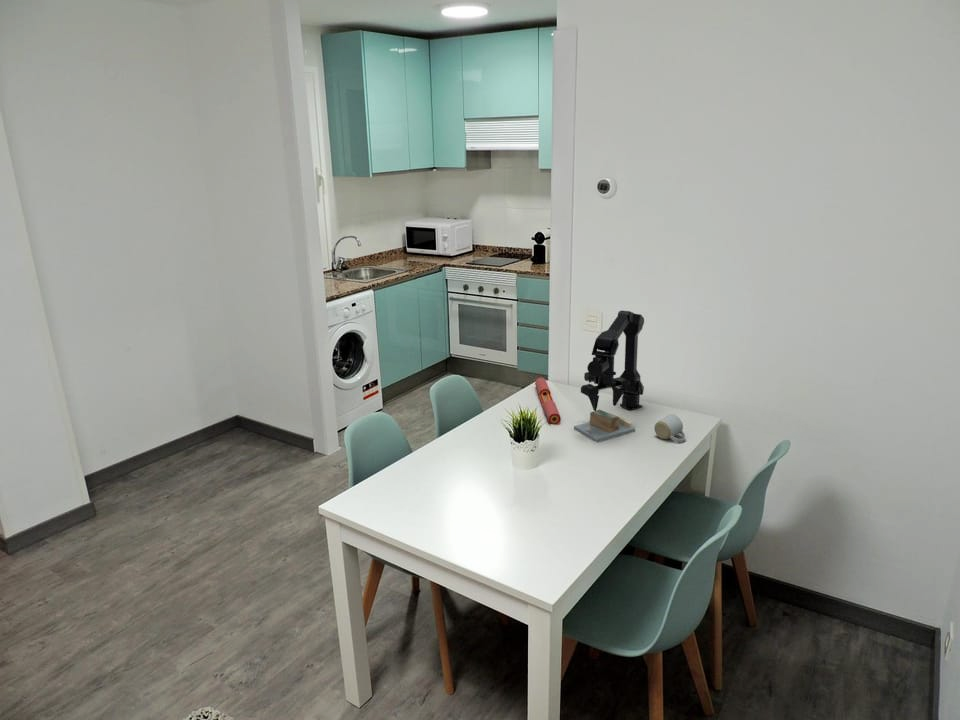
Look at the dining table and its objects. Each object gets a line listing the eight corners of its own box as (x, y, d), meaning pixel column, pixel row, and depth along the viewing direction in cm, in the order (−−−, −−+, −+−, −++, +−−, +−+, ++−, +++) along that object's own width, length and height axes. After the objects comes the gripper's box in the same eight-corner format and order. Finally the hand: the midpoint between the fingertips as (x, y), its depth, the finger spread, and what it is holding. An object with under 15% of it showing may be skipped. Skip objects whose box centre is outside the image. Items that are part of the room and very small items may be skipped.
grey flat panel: (611, 418, 259) (611, 411, 258) (635, 431, 247) (635, 423, 246) (573, 428, 251) (574, 421, 250) (596, 442, 239) (596, 434, 238)
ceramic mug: (652, 436, 242) (653, 417, 240) (664, 430, 247) (666, 411, 245) (677, 446, 235) (678, 426, 232) (689, 439, 240) (691, 419, 237)
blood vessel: (535, 388, 296) (535, 377, 294) (546, 387, 296) (546, 377, 294) (548, 425, 256) (548, 413, 254) (560, 425, 256) (561, 413, 254)
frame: (599, 421, 254) (599, 408, 253) (618, 429, 247) (619, 416, 245) (589, 424, 251) (590, 412, 250) (609, 433, 244) (610, 420, 242)
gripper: (611, 358, 252) (610, 396, 257) (572, 367, 244) (571, 406, 249) (631, 366, 243) (629, 405, 248) (590, 375, 235) (589, 415, 240)
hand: (604, 408), depth 246 cm, fingers open, 9 cm apart
